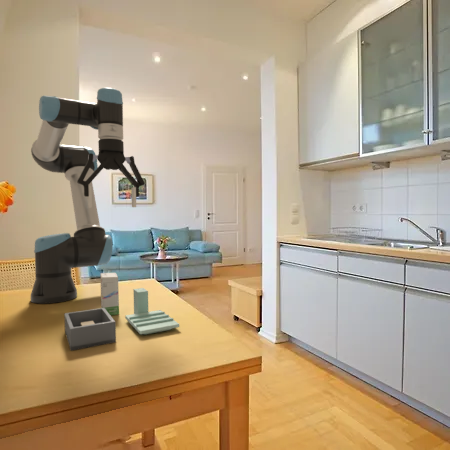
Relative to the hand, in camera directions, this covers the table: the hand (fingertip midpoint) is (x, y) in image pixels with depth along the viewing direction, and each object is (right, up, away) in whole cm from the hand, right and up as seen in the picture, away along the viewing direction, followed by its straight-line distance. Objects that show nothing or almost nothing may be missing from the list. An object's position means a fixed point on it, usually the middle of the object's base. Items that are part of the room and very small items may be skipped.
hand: (112, 207), depth 111 cm
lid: (+14, -33, -13) cm, 38 cm away
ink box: (0, -33, -1) cm, 33 cm away
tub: (+2, -34, -23) cm, 41 cm away
